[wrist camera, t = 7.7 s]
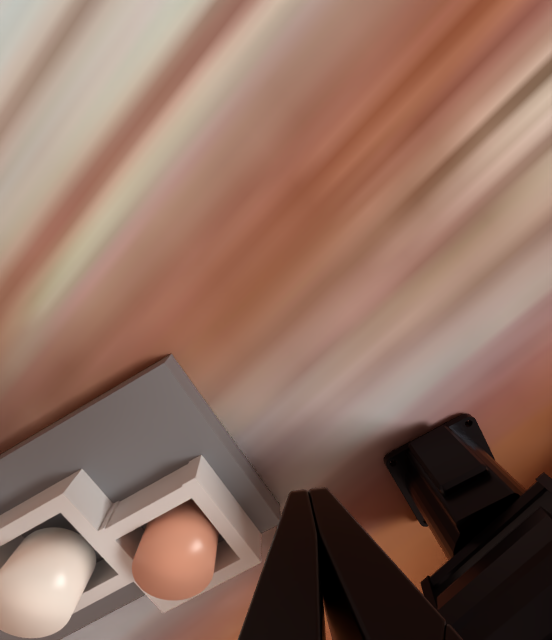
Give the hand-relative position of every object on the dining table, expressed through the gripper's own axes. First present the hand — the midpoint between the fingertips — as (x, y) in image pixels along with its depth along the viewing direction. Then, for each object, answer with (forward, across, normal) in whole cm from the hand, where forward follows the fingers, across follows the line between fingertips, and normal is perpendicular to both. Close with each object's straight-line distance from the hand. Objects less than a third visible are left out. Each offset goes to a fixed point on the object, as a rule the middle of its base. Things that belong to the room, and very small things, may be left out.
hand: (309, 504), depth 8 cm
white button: (+10, +14, +11) cm, 20 cm away
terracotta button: (+11, +7, +11) cm, 17 cm away
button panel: (+13, +14, +11) cm, 22 cm away
